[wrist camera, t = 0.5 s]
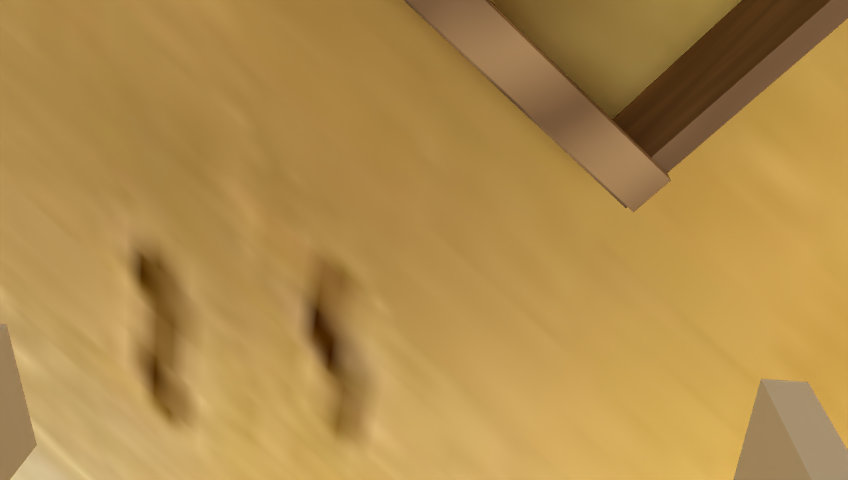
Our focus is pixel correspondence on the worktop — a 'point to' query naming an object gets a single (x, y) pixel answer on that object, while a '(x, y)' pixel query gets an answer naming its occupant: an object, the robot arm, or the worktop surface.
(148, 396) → the worktop surface
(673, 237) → the worktop surface
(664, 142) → the crate
